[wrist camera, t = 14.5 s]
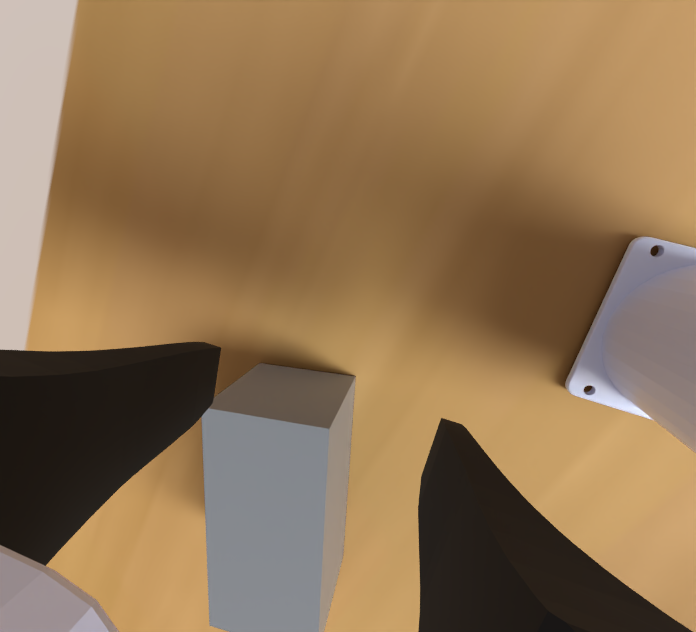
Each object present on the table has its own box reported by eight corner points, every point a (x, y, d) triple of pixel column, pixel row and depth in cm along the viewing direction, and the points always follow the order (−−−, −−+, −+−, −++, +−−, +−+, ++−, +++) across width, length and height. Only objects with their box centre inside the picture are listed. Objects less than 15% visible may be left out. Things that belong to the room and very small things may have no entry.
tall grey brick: (355, 376, 20) (329, 429, 15) (343, 556, 23) (317, 657, 18) (259, 363, 22) (201, 407, 16) (259, 536, 24) (209, 625, 19)
